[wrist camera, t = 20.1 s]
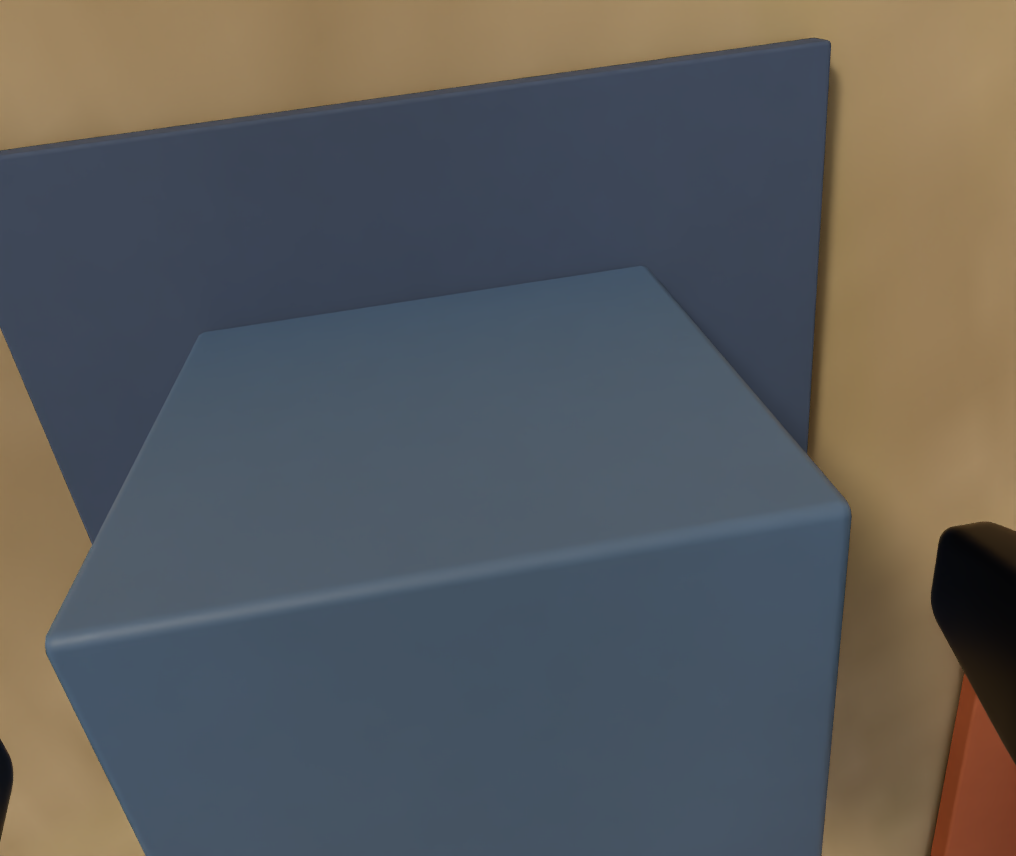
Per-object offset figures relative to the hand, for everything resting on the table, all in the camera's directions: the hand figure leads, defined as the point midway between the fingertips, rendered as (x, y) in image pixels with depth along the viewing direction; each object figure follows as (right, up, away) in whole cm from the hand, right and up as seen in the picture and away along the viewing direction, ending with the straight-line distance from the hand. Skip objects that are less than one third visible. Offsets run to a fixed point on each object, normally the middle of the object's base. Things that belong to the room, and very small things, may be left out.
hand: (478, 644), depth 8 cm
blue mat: (0, +1, +3) cm, 3 cm away
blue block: (0, +1, +3) cm, 3 cm away
